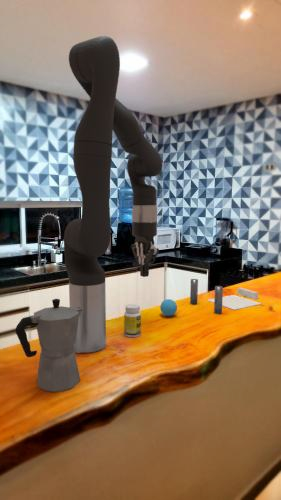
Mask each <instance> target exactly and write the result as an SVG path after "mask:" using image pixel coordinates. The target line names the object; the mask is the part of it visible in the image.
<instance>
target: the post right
mask: <svg viewBox="0 0 281 500" xmlns="http://www.w3.org/2000/svg"><path fill="white" fill-rule="evenodd" d="M223 289H224V287H223V286H221V285H215V286H214V299H215V300H214V303H213V305H214V307H213V310H214V311H213V313H214V314H215V315H222V314H223V306H222V298H223V297H224V294H223V293H224V292H223V291H224V290H223Z"/></svg>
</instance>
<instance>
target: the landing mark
mask: <svg viewBox="0 0 281 500" xmlns="http://www.w3.org/2000/svg"><path fill="white" fill-rule="evenodd" d="M214 300H215V298H210V299H206V301H208V302H210V303H213V304H214ZM258 305H259V306H261V305H263V303H261V302H257V301H255V300H253V299H250V298H246V297H242V296H238V295H235V294H233V295H232V294H231V295H226V296H223V298H222V307H224V308H228V309H230V310H232V311H233V310H234V311H236V310H241V309H246V308H251V307H255V306H258Z"/></svg>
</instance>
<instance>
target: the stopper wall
mask: <svg viewBox="0 0 281 500" xmlns="http://www.w3.org/2000/svg"><path fill="white" fill-rule="evenodd" d="M237 295H240V296H241V297H242V296H243V297H244V298H248V299H251V300H258V299H259V292H257V291H254V290H250V289H248V288H244V287H237Z"/></svg>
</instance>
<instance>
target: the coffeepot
mask: <svg viewBox="0 0 281 500" xmlns="http://www.w3.org/2000/svg"><path fill="white" fill-rule="evenodd" d="M51 301H52V306H51V307H45V308H42V309H40V310H37V311H34V312H33V315H28V316H25V317H22V318H21V319H20V320H19V322H18V324H17V325H16V327H15V334H16V337H17V339H18V340H19V341H18V342H19V343H20V345H21V348H22V350H23V352H24V355H25V356H26V358H32V357H35V356H36V355H37V354H38V351H37V350H33V351H32V350H31V344H30V342H29V340H28V336H27V333H26V330H25V329H26V328H27V327H34V326H36V331H37V336H38V341H39V342H38V343H39V346H40V348H41V350H40V351H41V352H40V353H39V361H38V368H37V375H36V382H37V383H38V384H37V387H38V388H39V389H40V390H42V391H44V392H49V393H50V392H51V393H58V392H60V393H61V392H64V391H68V390H71V389H72V388H74V387H75V386H77V385H78V383H79V382H80V381H81V378H80V377H81V376H80V371H79V366H78V361H77V355H76V352H75V351H74V344H75V343H76V335H77V327H78V320H79V316H80V314H81V312H82V311H83V310H84V309H82V308H80V307H70V306H60V303H61V300H60V299H59V298H54V299H52V300H51Z"/></svg>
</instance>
